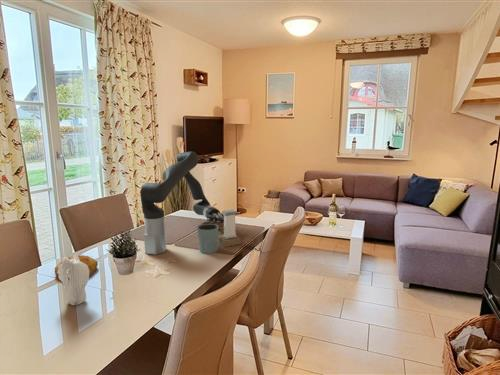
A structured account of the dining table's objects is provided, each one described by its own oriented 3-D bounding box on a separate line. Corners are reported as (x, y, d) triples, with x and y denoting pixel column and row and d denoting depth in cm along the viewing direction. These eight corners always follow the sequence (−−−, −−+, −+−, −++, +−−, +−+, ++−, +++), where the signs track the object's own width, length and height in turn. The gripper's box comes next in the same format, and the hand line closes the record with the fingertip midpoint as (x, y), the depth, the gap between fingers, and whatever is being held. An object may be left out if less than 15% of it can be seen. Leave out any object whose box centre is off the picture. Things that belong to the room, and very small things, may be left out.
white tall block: (222, 236, 167) (222, 210, 164) (233, 234, 169) (233, 209, 167) (226, 239, 163) (225, 212, 161) (236, 237, 166) (236, 211, 163)
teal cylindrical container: (208, 256, 151) (207, 231, 149) (193, 251, 157) (192, 227, 155) (223, 249, 159) (222, 225, 157) (208, 244, 165) (207, 222, 163)
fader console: (208, 234, 181) (208, 228, 180) (223, 231, 185) (223, 226, 184) (224, 247, 162) (224, 241, 161) (240, 243, 166) (240, 238, 165)
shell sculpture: (82, 293, 118) (77, 246, 115) (93, 301, 113) (88, 252, 109) (58, 303, 112) (51, 253, 108) (68, 311, 107) (62, 260, 103)
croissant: (60, 274, 139) (55, 256, 137) (100, 264, 143) (95, 247, 141) (52, 289, 125) (46, 270, 123) (96, 277, 130) (91, 259, 128)
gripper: (200, 208, 183) (211, 216, 168) (222, 205, 189) (234, 212, 174) (200, 221, 185) (211, 230, 170) (222, 218, 191) (234, 226, 176)
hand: (223, 221), depth 172 cm, fingers closed
